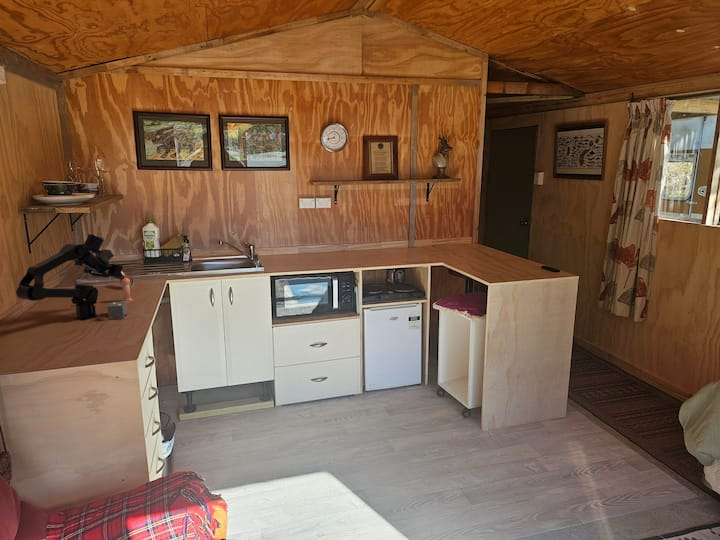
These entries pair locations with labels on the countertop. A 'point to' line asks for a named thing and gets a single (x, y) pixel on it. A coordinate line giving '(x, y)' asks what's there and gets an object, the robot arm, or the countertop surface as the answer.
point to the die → (117, 310)
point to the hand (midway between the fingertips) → (116, 277)
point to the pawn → (126, 289)
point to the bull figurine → (128, 278)
